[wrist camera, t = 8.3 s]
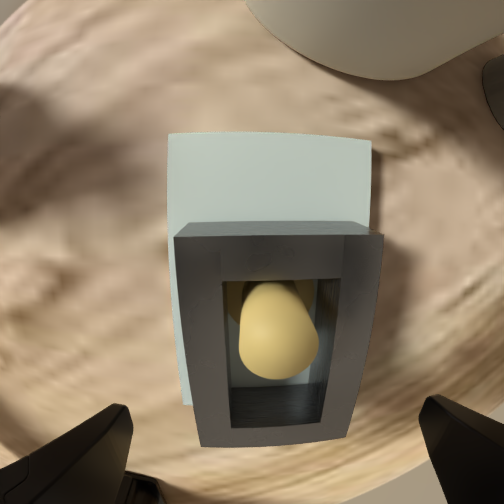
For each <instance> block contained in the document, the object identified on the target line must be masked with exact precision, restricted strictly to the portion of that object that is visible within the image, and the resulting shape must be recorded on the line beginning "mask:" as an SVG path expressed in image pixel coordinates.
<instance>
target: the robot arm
mask: <svg viewBox="0 0 504 504" xmlns="http://www.w3.org/2000/svg"><path fill="white" fill-rule="evenodd" d="M419 424H420V427H421V430H422V434H423V437H424V440H425V444H426V447H427V450H428V454H429V457H430V459H431V462H432V464H433V467H434V469H435V471H436V474H437V477H438V479H439V482H440V485H441V487H442V490H443V492H444V495H445V497H446V500H447V503H448V504H504V424H502V423H500V422H497V421H495V420H493V419H491V418H489V417H486V416H484V415H482V414H480V413H478V412H475V411H473V410H471V409H469V408H467V407H465V406H462V405H460V404H458V403H456V402H454V401H452V400H450V399H448V398H446V397H444V396H441V395H439V394H436V395H432V396H429V397H427V398H426V400H425V402H424V404H423V407H422V409H421V412H420V414H419ZM132 435H133V422H132V419H131V416H130V412H129V409H128V407H127V406H126V405H122V404H117V403H114V404H111V405H110V406H108V407H107V408H105V409H104V410H102V411H100V412H99V413H97V414H96V415H94V416H92V417H91V418H89V419H88V420H86V421H84V422H83V423H81V424H80V425H78V426H76V427H75V428H73V429H71V430H70V431H68V432H66V433H65V434H63V435H61V436H60V437H58V438H56V439H55V440H53V441H51V442H50V443H48V444H46V445H45V446H43V447H41V448H39V449H38V450H36V451H34V452H32V453H31V454H29V455H27V456H25V457H23V458H22V459H20V460H18V461H16V462H14V463H12V464H10V465H8V466H6V467H4V468H1V469H0V504H166V502H165V499H164V497H163V495H162V492H161V490H160V488H159V485H158V483H157V481H156V480H155V479H152V478H148V477H143V476H138V475H133V474H128V473H124V472H125V468H126V463H127V458H128V453H129V449H130V444H131V439H132Z"/></svg>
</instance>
